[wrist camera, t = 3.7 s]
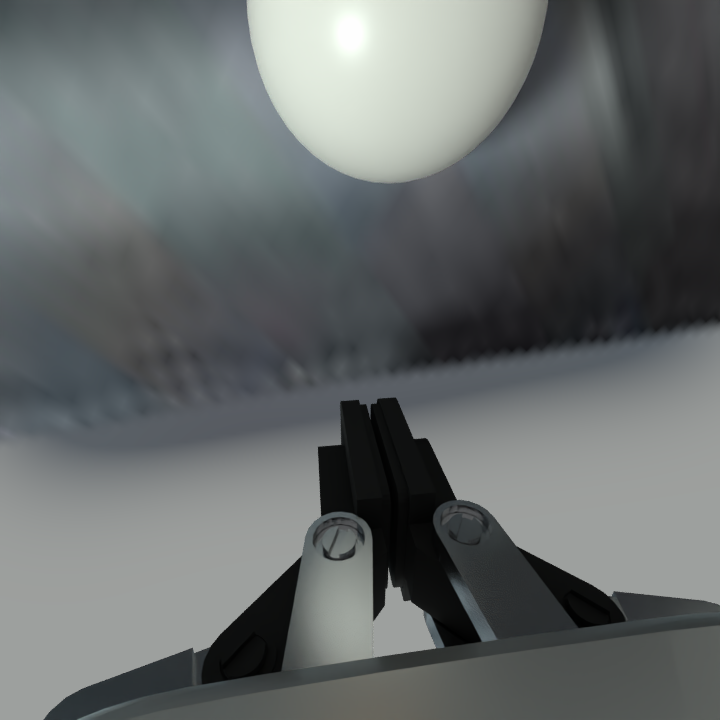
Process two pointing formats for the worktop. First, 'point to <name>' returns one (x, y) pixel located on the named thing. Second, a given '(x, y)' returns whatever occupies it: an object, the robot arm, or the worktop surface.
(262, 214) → the worktop surface
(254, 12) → the cue ball
